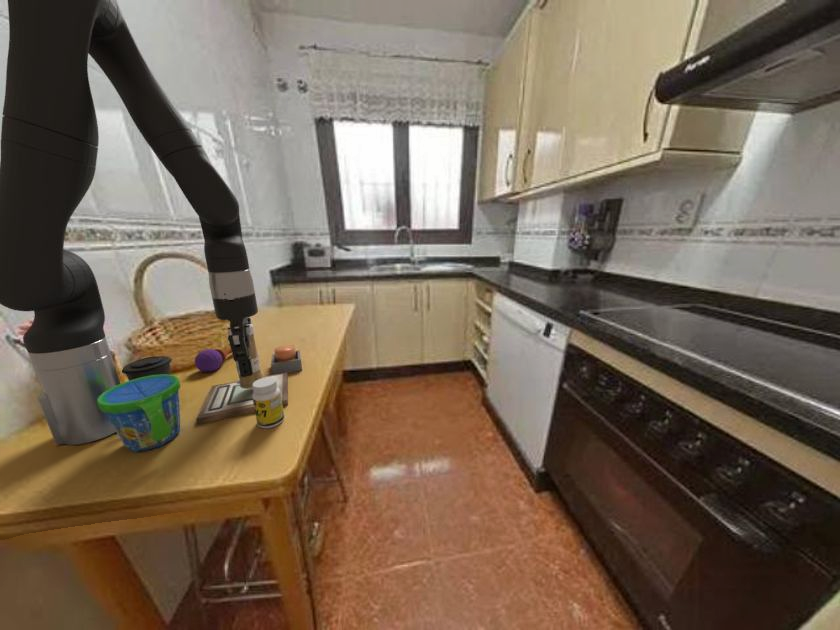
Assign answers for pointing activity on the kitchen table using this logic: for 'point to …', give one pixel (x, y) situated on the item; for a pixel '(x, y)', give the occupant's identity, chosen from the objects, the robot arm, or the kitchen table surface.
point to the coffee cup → (147, 367)
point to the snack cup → (144, 410)
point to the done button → (285, 353)
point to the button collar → (286, 365)
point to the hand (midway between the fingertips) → (248, 370)
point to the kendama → (211, 359)
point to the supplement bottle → (267, 403)
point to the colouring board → (235, 399)
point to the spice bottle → (249, 380)
